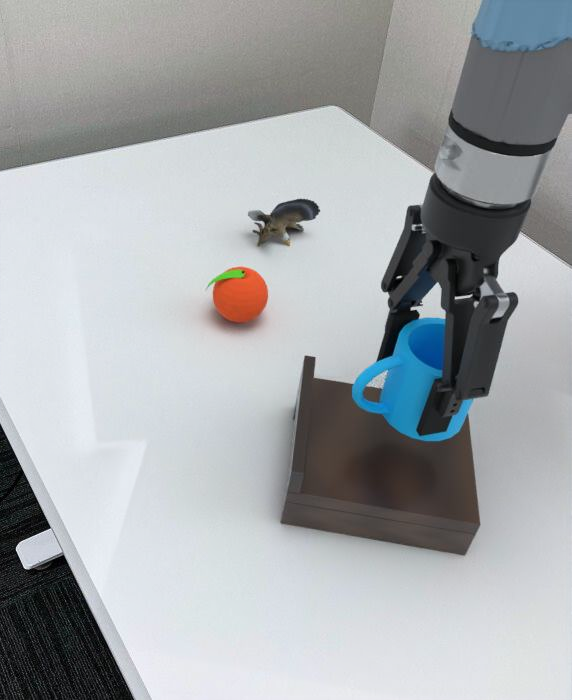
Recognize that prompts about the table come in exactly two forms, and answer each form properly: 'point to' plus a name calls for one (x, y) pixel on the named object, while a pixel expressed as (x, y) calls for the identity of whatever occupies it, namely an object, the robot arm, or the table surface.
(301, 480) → the dark wooden box
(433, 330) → the mug
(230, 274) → the clementine
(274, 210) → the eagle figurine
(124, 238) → the table surface
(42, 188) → the table surface
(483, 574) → the table surface
